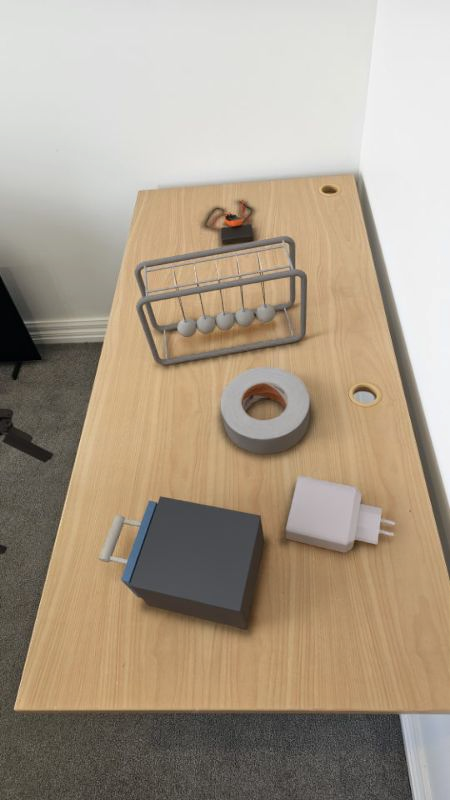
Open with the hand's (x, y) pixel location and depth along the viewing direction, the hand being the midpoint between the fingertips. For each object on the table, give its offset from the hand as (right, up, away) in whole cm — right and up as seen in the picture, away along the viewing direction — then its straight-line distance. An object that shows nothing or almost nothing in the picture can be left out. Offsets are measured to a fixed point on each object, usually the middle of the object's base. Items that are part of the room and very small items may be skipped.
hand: (27, 502), depth 67 cm
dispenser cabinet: (+24, -12, +7) cm, 28 cm away
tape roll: (+34, +11, +22) cm, 42 cm away
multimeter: (+28, +58, +57) cm, 85 cm away
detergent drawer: (+19, -11, +7) cm, 23 cm away
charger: (+44, -5, +9) cm, 45 cm away
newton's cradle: (+27, +27, +34) cm, 51 cm away
